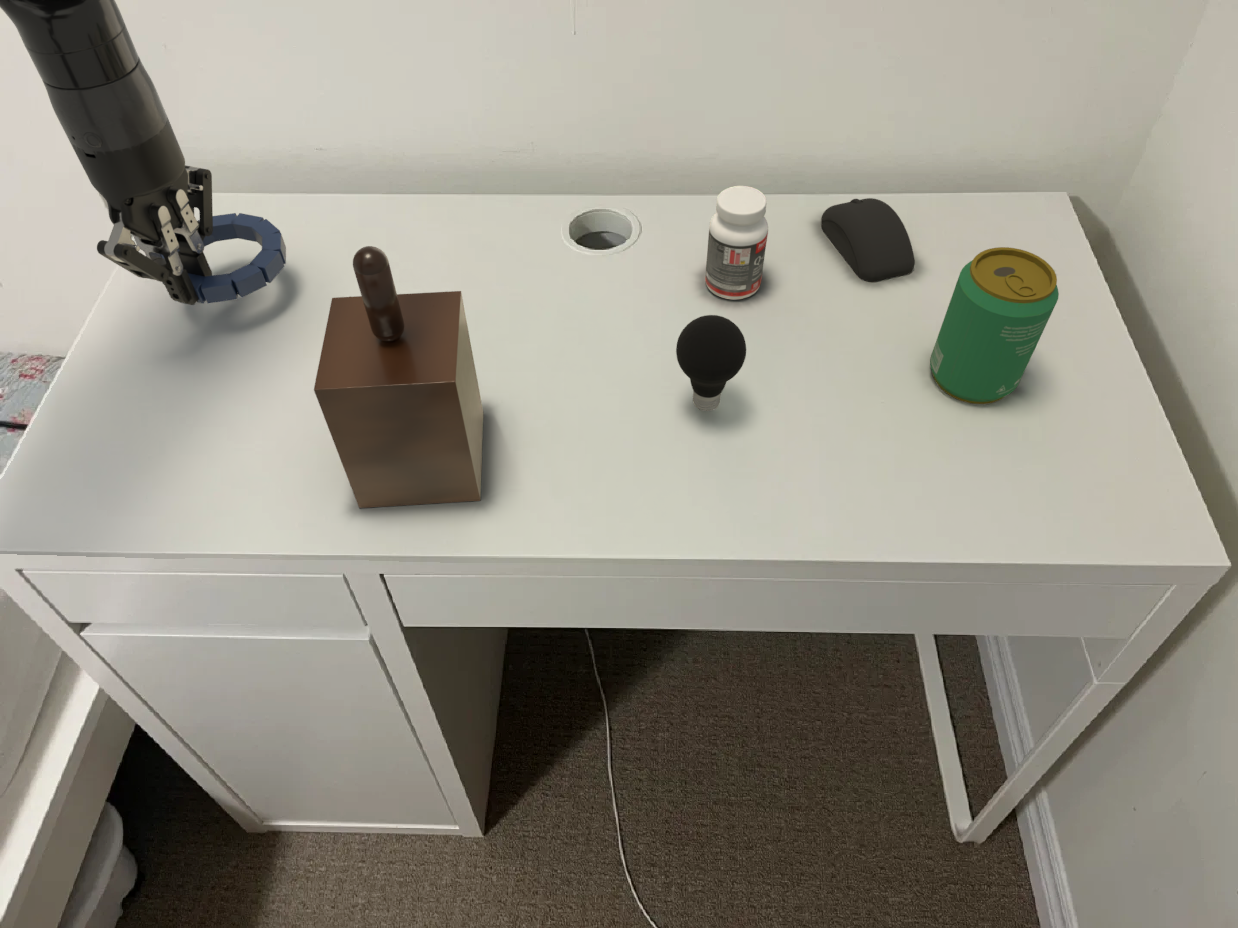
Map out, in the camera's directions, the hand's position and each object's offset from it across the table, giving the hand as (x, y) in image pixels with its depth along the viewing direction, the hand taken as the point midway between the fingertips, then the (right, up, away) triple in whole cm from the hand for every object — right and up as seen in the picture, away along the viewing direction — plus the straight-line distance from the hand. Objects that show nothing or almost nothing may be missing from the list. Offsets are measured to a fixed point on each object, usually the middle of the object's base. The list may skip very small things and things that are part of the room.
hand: (195, 293), depth 86 cm
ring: (+1, +3, +3) cm, 5 cm away
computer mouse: (+66, +7, +11) cm, 67 cm away
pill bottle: (+52, +2, +7) cm, 52 cm away
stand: (+23, -16, -7) cm, 29 cm away
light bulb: (+48, -11, -4) cm, 49 cm away
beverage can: (+73, -8, -1) cm, 73 cm away
